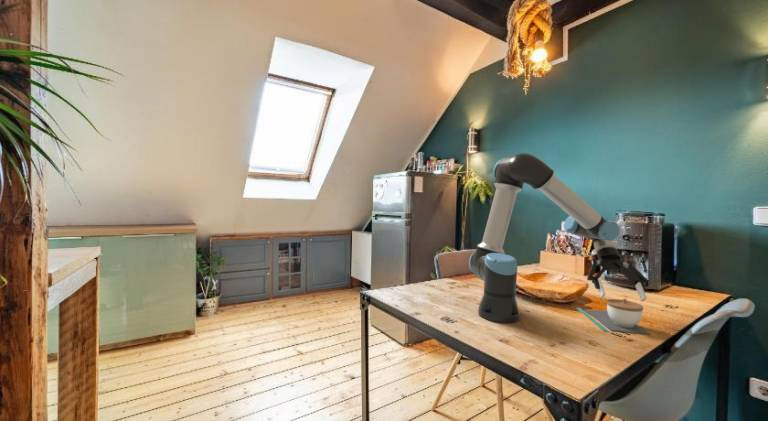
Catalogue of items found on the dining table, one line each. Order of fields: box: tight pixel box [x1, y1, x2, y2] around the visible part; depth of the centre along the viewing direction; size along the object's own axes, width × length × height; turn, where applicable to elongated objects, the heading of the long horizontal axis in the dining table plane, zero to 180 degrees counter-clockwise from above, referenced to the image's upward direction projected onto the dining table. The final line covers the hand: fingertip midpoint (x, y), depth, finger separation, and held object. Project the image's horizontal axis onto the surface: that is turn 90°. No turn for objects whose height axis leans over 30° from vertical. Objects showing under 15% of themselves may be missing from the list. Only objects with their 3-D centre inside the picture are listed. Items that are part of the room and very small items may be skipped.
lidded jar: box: [606, 298, 644, 328], centre depth 119 cm, size 11×11×9 cm
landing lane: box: [576, 307, 651, 335], centre depth 124 cm, size 15×24×1 cm, turn 169°
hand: (623, 298), depth 121 cm, fingers open, 13 cm apart
